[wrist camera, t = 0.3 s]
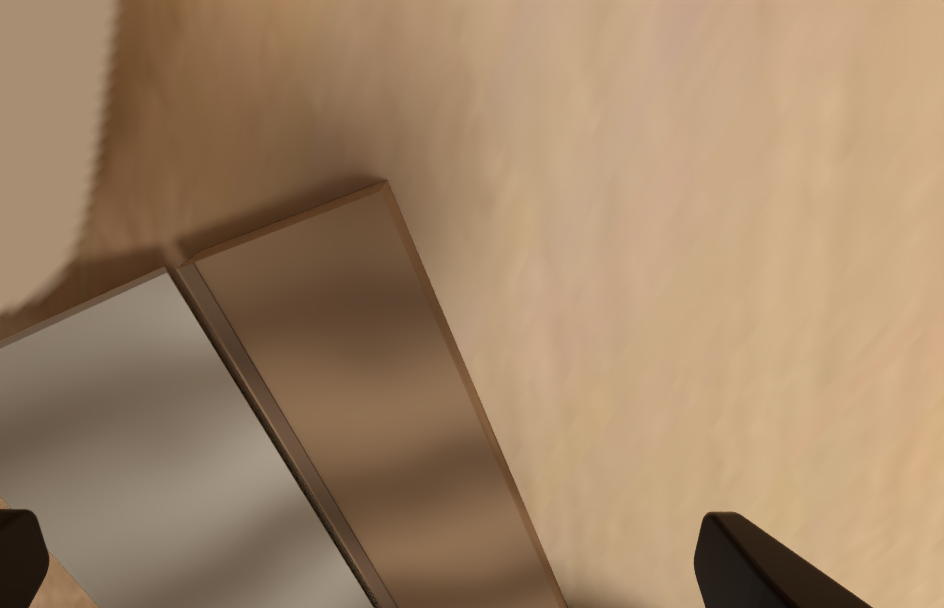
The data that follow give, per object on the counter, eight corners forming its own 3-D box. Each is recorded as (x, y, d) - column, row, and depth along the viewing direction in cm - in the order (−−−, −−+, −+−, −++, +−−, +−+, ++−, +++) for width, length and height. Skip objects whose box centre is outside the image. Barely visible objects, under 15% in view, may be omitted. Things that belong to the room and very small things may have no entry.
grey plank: (409, 663, 28) (426, 694, 26) (277, 777, 25) (287, 819, 23) (164, 265, 19) (167, 272, 18) (-70, 371, 17) (-93, 391, 15)
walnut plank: (569, 611, 27) (578, 653, 25) (433, 651, 28) (432, 694, 26) (386, 180, 19) (380, 191, 17) (201, 250, 20) (174, 270, 18)
